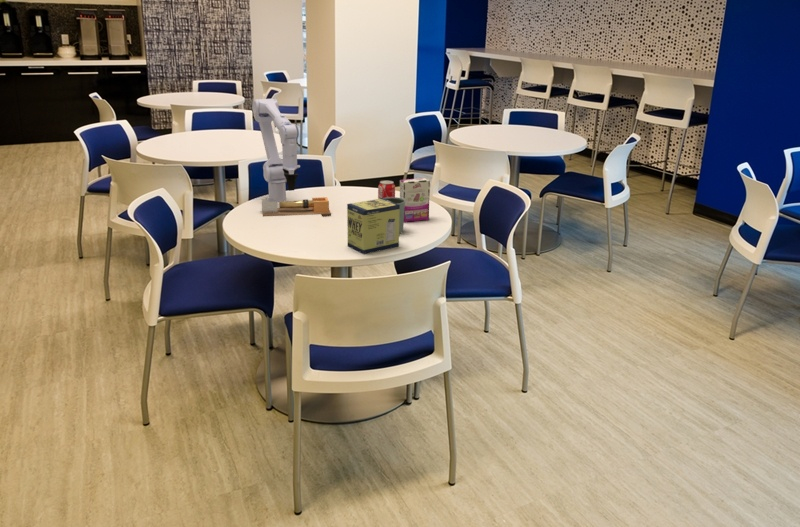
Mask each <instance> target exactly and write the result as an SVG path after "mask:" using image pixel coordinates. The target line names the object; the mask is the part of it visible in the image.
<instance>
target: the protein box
mask: <svg viewBox="0 0 800 527" xmlns="http://www.w3.org/2000/svg"><path fill="white" fill-rule="evenodd" d="M346 207H347V208H346V209H347V211H346V212H347V216H346V218H347V224H346V225H347V247H349V248H351V249H353V250H355V251H356V252H359V253H361V254H362V255H366V254H370V252H371V253H375V252H380V251H384V250H388V249H392V248H398V247H399V246H400V234H399V212H400V205H399V204H396V203H394V202H391V201H389V200H386V199H383V198H380V199H378V198H375V199H369V200H363V201H358V202H350V203H347V204H346ZM379 250H380V251H379Z"/></svg>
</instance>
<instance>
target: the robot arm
mask: <svg viewBox="0 0 800 527" xmlns="http://www.w3.org/2000/svg"><path fill="white" fill-rule="evenodd" d="M279 107H280V106H279V102H278V100H277V98H275V97H274V98H253V100H252V105H251V110H252V113H253V117H254V118H253V119H254V120H255V121H256V122H257V123H258V126H259V129H260V132H261V137H262V141H263V146H264V150H265V153H266V158H267V160H266V161H265V162H264V163H263V164H262V169H263V178H264V180H265V181H266V183H267V184H268V197H267V199H277V203H279V201H287V193H286V192H287V189H288V191H295V189H296V181H297V179H298V176H299V173H296V172H297V169H299V168H301V165H300V164H298V151H297V150H298V149H297V148H298V146H297V145H298V144H297V140H298V138H299V135H300V132H299V127H298V125H297V124H296V123H292V122H291V121H290V120H289V119H288V117H287V116H286V115H285V114H282V113H281V112H280V109H279ZM272 122H273V125H274V126H275V127H276V129H277V130H278V134H279V139H280V143H281V149H282V151H281V152H282V158H281V157H280V156H279V151H278V147H277V143H276V139H275V134H274V129H273V126H272ZM286 184H287V187H286ZM286 188H287V189H286Z"/></svg>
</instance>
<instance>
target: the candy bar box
mask: <svg viewBox="0 0 800 527" xmlns="http://www.w3.org/2000/svg"><path fill="white" fill-rule="evenodd" d="M430 182H431V180H430V179H428V178H426V177H423V178H422V177H420V178H410V179H409V178H407V179H400V180H399V198H402V199H404V200H405V208H404V222H405V223H415V222H423V221H429V220H430V193H431V192H430V191H431V190H430V187H431V186H430V185H431V184H430ZM414 221H415V222H414Z"/></svg>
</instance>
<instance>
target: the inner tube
mask: <svg viewBox="0 0 800 527" xmlns="http://www.w3.org/2000/svg"><path fill="white" fill-rule="evenodd" d="M314 201H319V200H310V199H302V200H290V201H289V200H285V201H279V202H278V204H279V207H278V208H303V209H305V208H309V207H314Z"/></svg>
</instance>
